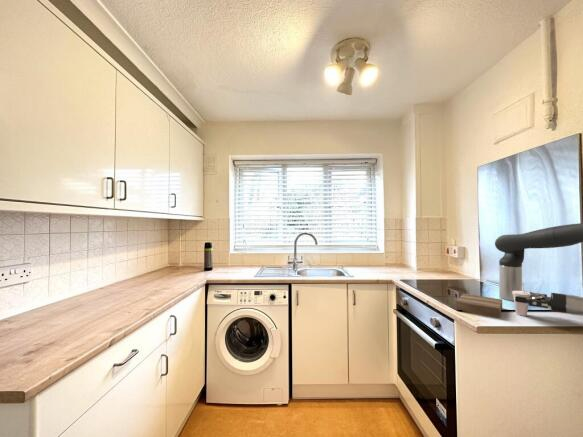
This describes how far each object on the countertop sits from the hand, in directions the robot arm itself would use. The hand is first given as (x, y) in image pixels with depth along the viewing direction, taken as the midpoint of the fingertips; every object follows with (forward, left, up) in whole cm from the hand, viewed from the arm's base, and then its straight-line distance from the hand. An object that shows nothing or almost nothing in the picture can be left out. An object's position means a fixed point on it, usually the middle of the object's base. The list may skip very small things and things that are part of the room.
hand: (515, 296), depth 124 cm
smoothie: (0, +2, -8) cm, 8 cm away
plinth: (+3, -13, -8) cm, 15 cm away
